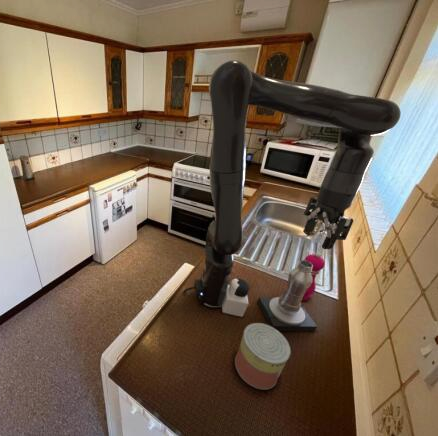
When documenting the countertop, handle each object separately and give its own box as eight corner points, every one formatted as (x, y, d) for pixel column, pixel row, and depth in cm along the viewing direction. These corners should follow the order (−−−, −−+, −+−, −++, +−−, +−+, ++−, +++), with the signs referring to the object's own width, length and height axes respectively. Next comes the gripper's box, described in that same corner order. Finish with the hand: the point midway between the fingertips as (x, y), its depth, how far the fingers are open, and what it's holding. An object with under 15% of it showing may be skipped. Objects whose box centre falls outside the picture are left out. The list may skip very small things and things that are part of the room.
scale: (271, 330, 78) (274, 324, 77) (257, 301, 89) (259, 295, 87) (314, 331, 78) (318, 325, 77) (295, 302, 89) (297, 296, 87)
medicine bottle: (240, 302, 89) (250, 278, 83) (242, 317, 83) (253, 293, 77) (221, 297, 90) (229, 273, 84) (222, 312, 84) (231, 288, 78)
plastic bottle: (295, 304, 84) (315, 259, 74) (299, 319, 78) (321, 273, 68) (275, 299, 86) (292, 255, 76) (277, 314, 80) (296, 268, 70)
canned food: (274, 399, 61) (288, 373, 55) (230, 374, 66) (238, 347, 60) (279, 361, 69) (292, 335, 63) (240, 342, 74) (248, 316, 69)
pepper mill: (313, 303, 88) (335, 260, 79) (292, 300, 90) (311, 258, 80) (306, 289, 95) (325, 248, 85) (287, 286, 96) (303, 245, 86)
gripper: (308, 177, 67) (290, 226, 75) (344, 197, 54) (318, 254, 62) (335, 177, 67) (314, 227, 75) (377, 198, 54) (347, 255, 62)
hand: (316, 239), depth 68 cm, fingers open, 8 cm apart
